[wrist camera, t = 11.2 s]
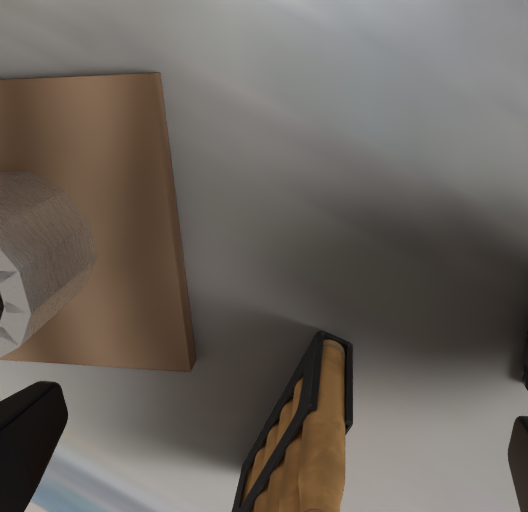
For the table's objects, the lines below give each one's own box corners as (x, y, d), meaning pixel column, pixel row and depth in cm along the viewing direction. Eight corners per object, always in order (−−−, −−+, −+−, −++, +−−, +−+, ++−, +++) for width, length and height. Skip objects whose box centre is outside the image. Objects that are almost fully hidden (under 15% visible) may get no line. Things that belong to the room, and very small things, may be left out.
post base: (160, 72, 18) (92, 80, 13) (196, 360, 24) (158, 440, 19) (-137, 85, 21) (-288, 96, 16) (-40, 345, 26) (-129, 414, 21)
